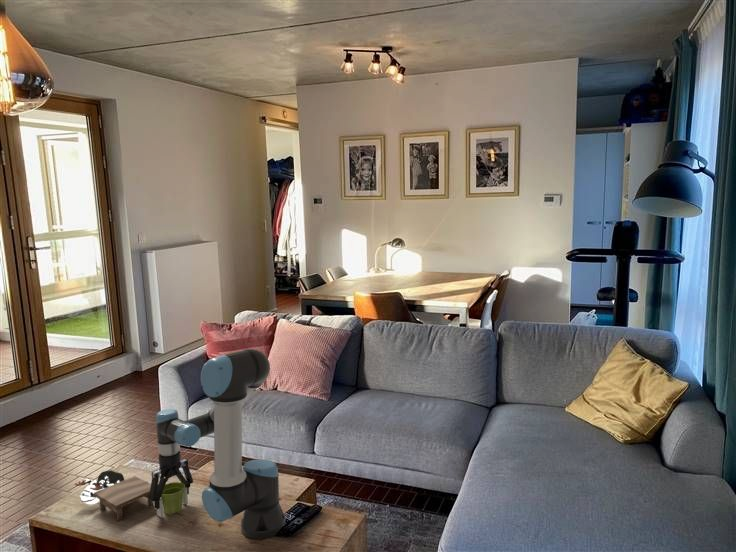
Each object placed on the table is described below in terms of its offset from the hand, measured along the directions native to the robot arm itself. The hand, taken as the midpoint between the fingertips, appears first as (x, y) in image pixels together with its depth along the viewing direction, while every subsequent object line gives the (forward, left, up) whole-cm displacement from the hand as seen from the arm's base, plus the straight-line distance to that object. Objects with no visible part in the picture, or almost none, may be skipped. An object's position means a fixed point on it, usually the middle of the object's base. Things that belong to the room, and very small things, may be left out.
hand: (172, 509), depth 198 cm
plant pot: (0, 0, -1) cm, 1 cm away
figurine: (+32, +11, -1) cm, 34 cm away
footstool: (+16, +9, 0) cm, 18 cm away
